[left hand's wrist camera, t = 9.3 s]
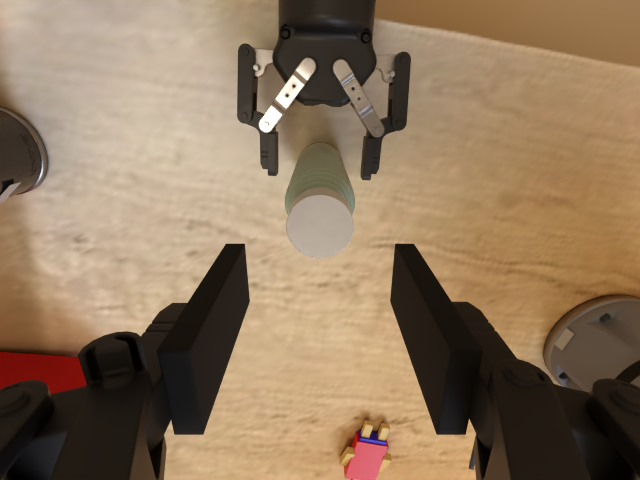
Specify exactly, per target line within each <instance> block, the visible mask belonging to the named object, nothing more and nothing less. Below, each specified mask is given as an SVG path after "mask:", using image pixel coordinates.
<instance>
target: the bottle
mask: <svg viewBox="0 0 640 480" xmlns="http://www.w3.org/2000/svg"><path fill="white" fill-rule="evenodd" d="M319 187H320V188H328V189H331V190H334V191H336V192H337V193H339V194H340V195H341V196H342V197H343V198H344V199H345V200H346V201H347V203H348V205H349V207H350V210H351V214H353V211H354V207H355V196H354V192H353V189H352V186H351V183H350V181H349V178H348V175H347V172H346V170H345V167H344V164H343V161H342V159H341V156H340V154H339V153H338V151H337V150H336V149H335V148H334V147H332V146H331V145H329V144H326V143H314V144H311V145H309V146H308V147H306V148H305V149H304V150H303V151H302V153H301V154H300V156H299V159H298V161H297V164H296V167H295V170H294V172H293V175H292V178H291V181H290V183H289V186H288V189H287V192H286V196H285V207H286V211H287V214H289V211H290V207H291V205H292V203H293V202H294V200H295V199H296V198H297V197H298V196H299V195H300V194H301V193H303V192H304V191H306V190H309V189H312V188H319Z"/></svg>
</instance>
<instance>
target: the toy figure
mask: <svg viewBox="0 0 640 480" xmlns="http://www.w3.org/2000/svg"><path fill="white" fill-rule="evenodd" d="M372 428H373V422H372V421H368V420H365V421H364V424H363V427H362V430H359V432H356V434H355V437H354V440H353V443H352V446H351V447H347V448H346V450H345V451H344V453H343V454H342V456H341V457H340V465H343V466H344V472H345V478H349V479H351V480H376V477H377V475H378V472H379V471H380V472H382V471H383V469H384V468H385V467H386V466H387V465H388V464H389V463H390V462H391V454H388V453H386V451H387V449H388V444H387V440H386V438H387V435H388V432H389V430H390V428H389V424H385V423H381V426H380V428H379V431H378V433H373V432H371V431H372Z"/></svg>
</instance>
